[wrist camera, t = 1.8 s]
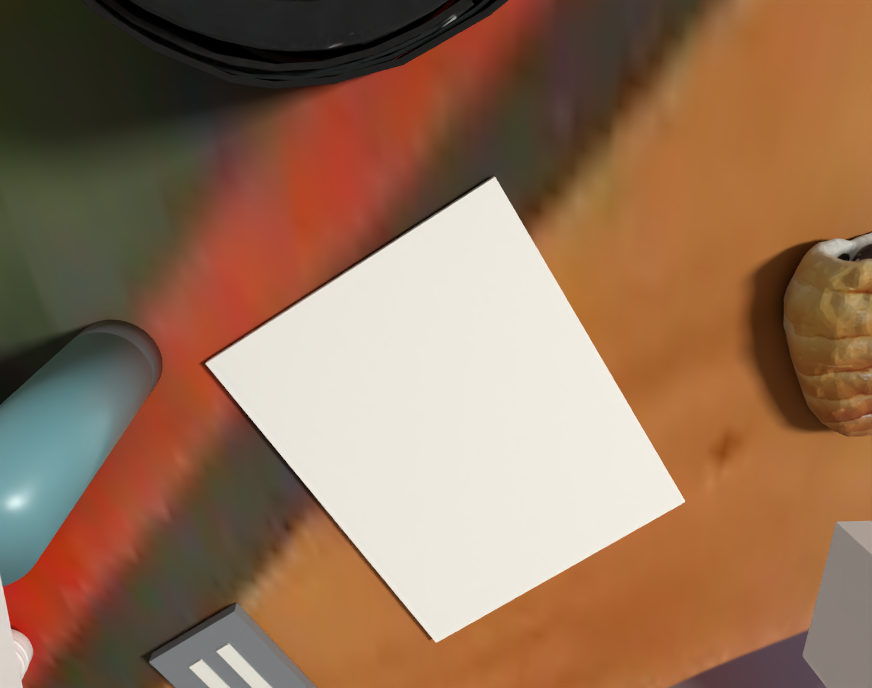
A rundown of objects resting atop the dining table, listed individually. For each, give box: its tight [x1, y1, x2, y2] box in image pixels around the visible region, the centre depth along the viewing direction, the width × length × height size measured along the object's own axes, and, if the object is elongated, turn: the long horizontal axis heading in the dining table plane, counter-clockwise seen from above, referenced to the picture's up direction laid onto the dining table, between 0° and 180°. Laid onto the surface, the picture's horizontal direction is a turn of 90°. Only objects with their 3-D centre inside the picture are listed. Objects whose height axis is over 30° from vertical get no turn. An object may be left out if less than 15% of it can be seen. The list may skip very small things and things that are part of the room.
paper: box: [205, 176, 685, 643], centre depth 33 cm, size 18×14×1 cm
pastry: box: [783, 233, 872, 437], centre depth 31 cm, size 9×7×4 cm
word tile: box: [149, 603, 317, 688], centre depth 36 cm, size 7×5×1 cm
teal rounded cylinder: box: [0, 320, 162, 586], centre depth 24 cm, size 4×4×12 cm
